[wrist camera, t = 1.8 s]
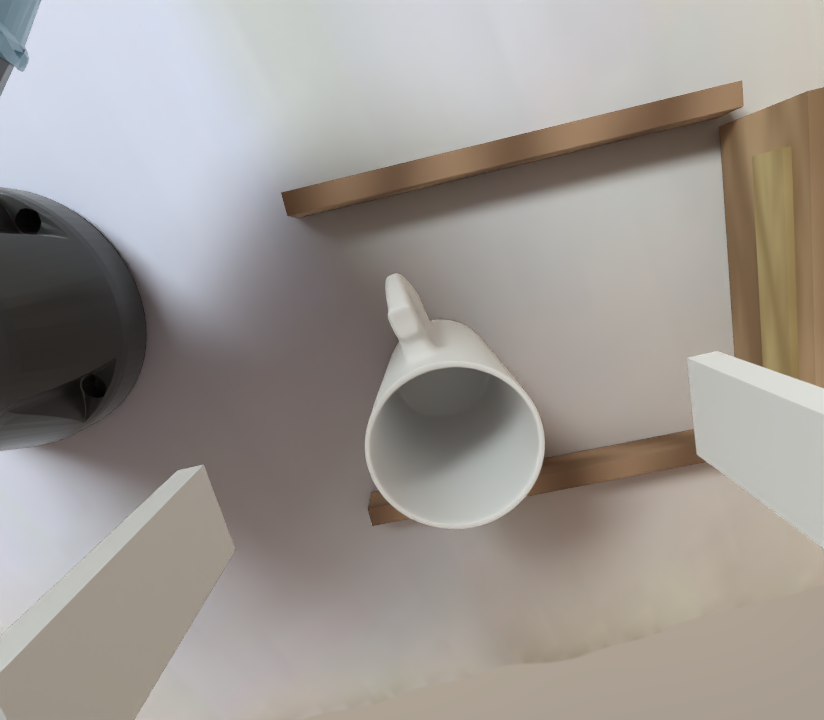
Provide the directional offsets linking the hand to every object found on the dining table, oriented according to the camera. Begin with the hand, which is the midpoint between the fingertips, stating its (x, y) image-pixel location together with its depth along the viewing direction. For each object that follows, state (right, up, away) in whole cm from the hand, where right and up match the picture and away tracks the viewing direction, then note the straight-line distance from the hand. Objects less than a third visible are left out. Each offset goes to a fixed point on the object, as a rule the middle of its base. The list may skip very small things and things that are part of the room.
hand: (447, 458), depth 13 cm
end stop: (+19, +8, +15) cm, 25 cm away
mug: (0, +4, +16) cm, 17 cm away
